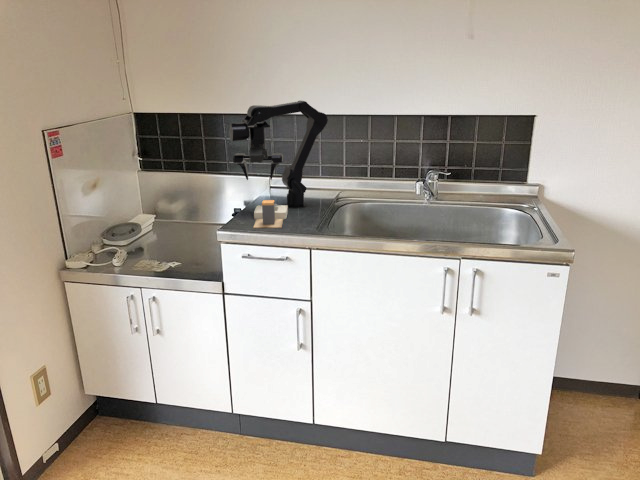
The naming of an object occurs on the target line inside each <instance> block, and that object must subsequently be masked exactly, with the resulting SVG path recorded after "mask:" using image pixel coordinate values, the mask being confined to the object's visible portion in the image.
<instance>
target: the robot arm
mask: <svg viewBox="0 0 640 480" xmlns="http://www.w3.org/2000/svg"><path fill="white" fill-rule="evenodd" d="M296 113H301V114H302V115H303V116H304V117H305V118H306V119H307V121H306V128H305V130H306V131H305V134H304V136H303V137H302V141H301V143H300V145H299V148H298V150H297V152H296V154H295V157H294V160H293V162H292V164H291V165H290V166H289V167H288V166H285V167H284V170H283V172H282V174H281V177H282V178H281V181H282V184H283V185H285V187H286V189H287V190H288V192H287V193H286V205H288V208H305V203H306V202H305V193H306V190H307V187H306V185H304V184H303V183H302V179H303V171H304V166H305V164H306V162H307V160H308V158H309V156H310V153H311V151H312V149H313V147H314V144H315V142H316V139H317V137H318V136H319V135H320V134H321V133H322V132H323V130H324V129H325V128H326V126H327V124H328V122H329V119H328V116H327V114H325V113H324V112H321V111H318V110H317V109H316V108H315V107H313V106H311V105H310V104H309V103H308V102H307V101H305V100H298V101H294V102H287V103H281V104H275V105H259V104H258V105H251V106H250V105H249V108H248V109H247V111H246V116H244V119H243V120H242V122H230V123H229V124H230V125H229V131H228V136H229V140H230V141H231V142H243V141H244V142H245V141H247V140H248V139H249V142H250V143H249V145H250V146H249V147H250V148H249V153H248V155H246V153H245V152H243V153H242V152H240V153H239V152H237V153H235V154H233V157H232V162H233V163H234V164H236V165H237V166H239V167H240V168H241V169H242V171H243V174H244V176H245V178H246V181H248V180H249V173H248V163H247V161H249V162H250V163H252V164H253V163H263V161H271V163H270V175H269V178H270V181H272V179H273V176H274V172H275V169H276V167H277V166H279V165H280V163H283V162H284V155H283V153H282V152H273V153H272V154H271V155H269V151H268V148H266V132H265V130H266V129H265V128H270V127H271V125H270V124H269V123H268V122H267V120H270V119H271V118H273V117H274V118H275V117H278V116H283V115H291V114H296ZM233 163H232V164H233Z"/></svg>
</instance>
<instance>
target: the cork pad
mask: <svg viewBox="0 0 640 480" xmlns="http://www.w3.org/2000/svg"><path fill="white" fill-rule="evenodd" d="M283 223H284V219H275V223H274V225H263V219H255V222H254V225H253V227H252V228H253V229H282V227H283Z"/></svg>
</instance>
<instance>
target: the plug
mask: <svg viewBox="0 0 640 480" xmlns="http://www.w3.org/2000/svg"><path fill="white" fill-rule="evenodd" d="M261 205H262V214H263V225H274V223H275V207H274V205H275V200H274V199H264V200H262V202H261Z"/></svg>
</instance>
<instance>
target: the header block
mask: <svg viewBox="0 0 640 480" xmlns="http://www.w3.org/2000/svg"><path fill="white" fill-rule="evenodd" d="M274 207H275V219H283V220H287V216H288V213H289V212H288V211H289V207H288V205H287V204H286V205H285V204H284V205H282V204H280V205H279V204H278V203H274ZM253 219H254V220H256V219H263V214H262V204H261V205H259V204H258V205H256V207H255V209H254V212H253Z"/></svg>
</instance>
